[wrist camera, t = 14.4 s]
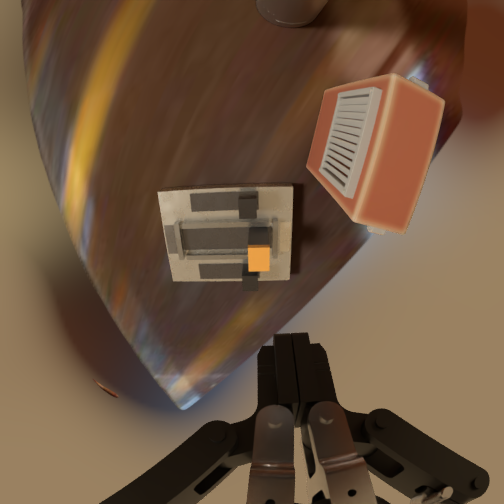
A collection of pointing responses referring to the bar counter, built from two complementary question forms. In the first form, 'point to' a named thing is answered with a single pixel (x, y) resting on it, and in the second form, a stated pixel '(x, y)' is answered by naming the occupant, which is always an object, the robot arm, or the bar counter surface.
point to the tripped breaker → (258, 249)
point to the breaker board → (226, 230)
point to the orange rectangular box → (376, 148)
